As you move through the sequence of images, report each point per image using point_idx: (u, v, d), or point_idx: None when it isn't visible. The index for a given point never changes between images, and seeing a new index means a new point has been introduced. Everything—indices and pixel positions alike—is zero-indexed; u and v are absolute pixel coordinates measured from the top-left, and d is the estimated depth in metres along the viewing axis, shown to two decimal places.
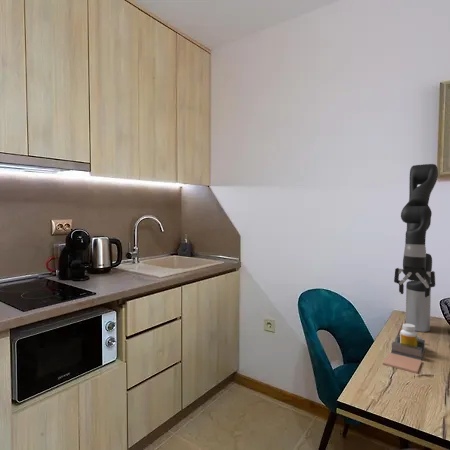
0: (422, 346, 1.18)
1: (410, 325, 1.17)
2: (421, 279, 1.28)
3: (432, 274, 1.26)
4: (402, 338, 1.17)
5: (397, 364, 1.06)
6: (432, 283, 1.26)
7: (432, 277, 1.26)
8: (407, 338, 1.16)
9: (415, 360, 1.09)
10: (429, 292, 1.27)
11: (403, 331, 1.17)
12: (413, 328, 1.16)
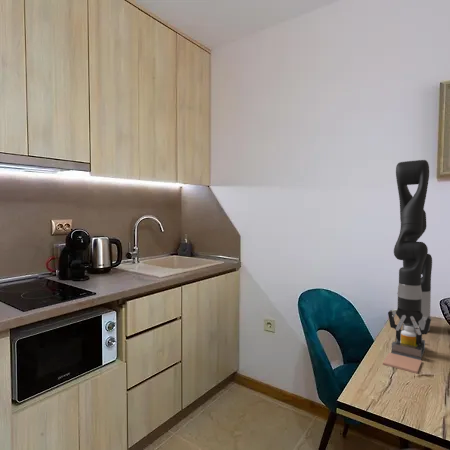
0: (422, 346, 1.18)
1: (410, 325, 1.17)
2: (415, 324, 1.15)
3: (428, 321, 1.13)
4: (402, 338, 1.17)
5: (397, 364, 1.06)
6: (424, 330, 1.13)
7: (427, 324, 1.13)
8: (407, 338, 1.16)
9: (415, 360, 1.09)
10: (421, 339, 1.15)
11: (403, 331, 1.17)
12: (413, 328, 1.16)
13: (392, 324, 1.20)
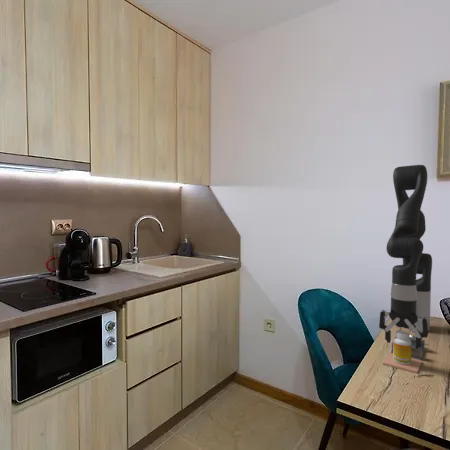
0: (422, 346, 1.18)
1: (404, 333, 1.08)
2: (411, 327, 1.05)
3: (424, 322, 1.03)
4: (395, 347, 1.08)
5: (397, 364, 1.06)
6: (424, 333, 1.03)
7: (424, 325, 1.03)
8: (400, 347, 1.06)
9: (415, 360, 1.09)
10: None
11: (396, 339, 1.08)
12: (407, 336, 1.06)
13: (381, 325, 1.11)
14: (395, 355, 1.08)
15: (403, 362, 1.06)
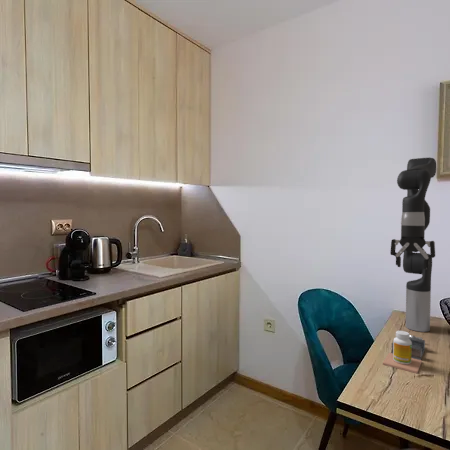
0: (422, 346, 1.18)
1: (404, 333, 1.08)
2: (420, 250, 1.17)
3: (432, 244, 1.15)
4: (395, 347, 1.08)
5: (397, 364, 1.06)
6: (432, 253, 1.15)
7: (432, 247, 1.15)
8: (400, 347, 1.06)
9: (415, 360, 1.09)
10: (428, 264, 1.17)
11: (396, 339, 1.08)
12: (407, 336, 1.06)
13: (392, 251, 1.23)
14: (395, 355, 1.08)
15: (403, 362, 1.06)
